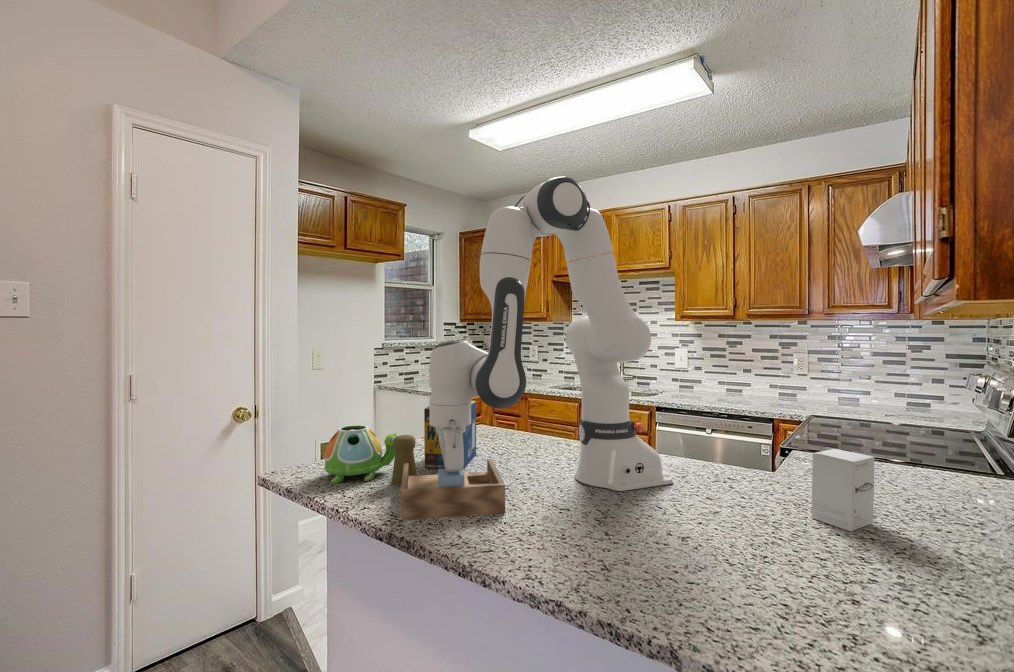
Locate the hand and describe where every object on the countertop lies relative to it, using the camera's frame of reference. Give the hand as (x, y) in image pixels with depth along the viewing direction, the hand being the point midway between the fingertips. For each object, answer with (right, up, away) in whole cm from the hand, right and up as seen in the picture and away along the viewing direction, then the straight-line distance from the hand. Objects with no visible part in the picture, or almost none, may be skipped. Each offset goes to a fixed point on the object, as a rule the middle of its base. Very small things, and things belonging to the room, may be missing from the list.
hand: (451, 480), depth 105 cm
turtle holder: (-24, -4, +16) cm, 29 cm away
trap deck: (0, -4, -1) cm, 4 cm away
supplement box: (+74, -4, -14) cm, 76 cm away
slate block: (+1, -1, -7) cm, 7 cm away
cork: (-12, -4, +10) cm, 16 cm away
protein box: (-3, -3, +28) cm, 28 cm away
